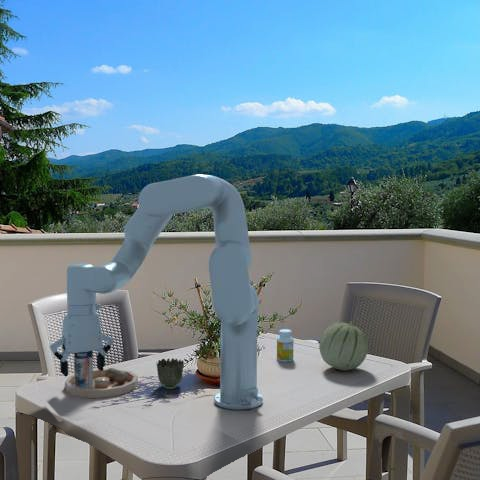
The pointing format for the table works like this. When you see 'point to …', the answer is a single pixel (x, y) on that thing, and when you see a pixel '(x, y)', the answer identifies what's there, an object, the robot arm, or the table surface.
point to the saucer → (102, 385)
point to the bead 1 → (110, 373)
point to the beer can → (84, 369)
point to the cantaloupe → (343, 346)
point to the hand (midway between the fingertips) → (82, 372)
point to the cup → (170, 372)
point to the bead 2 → (120, 377)
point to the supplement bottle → (285, 346)
